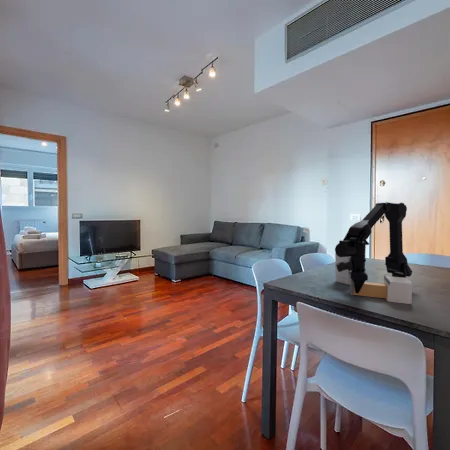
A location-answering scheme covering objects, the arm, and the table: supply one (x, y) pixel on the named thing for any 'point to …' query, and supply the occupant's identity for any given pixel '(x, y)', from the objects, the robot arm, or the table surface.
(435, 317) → the table surface
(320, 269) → the table surface
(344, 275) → the skincare box
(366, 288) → the plug
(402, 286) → the block
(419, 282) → the table surface
